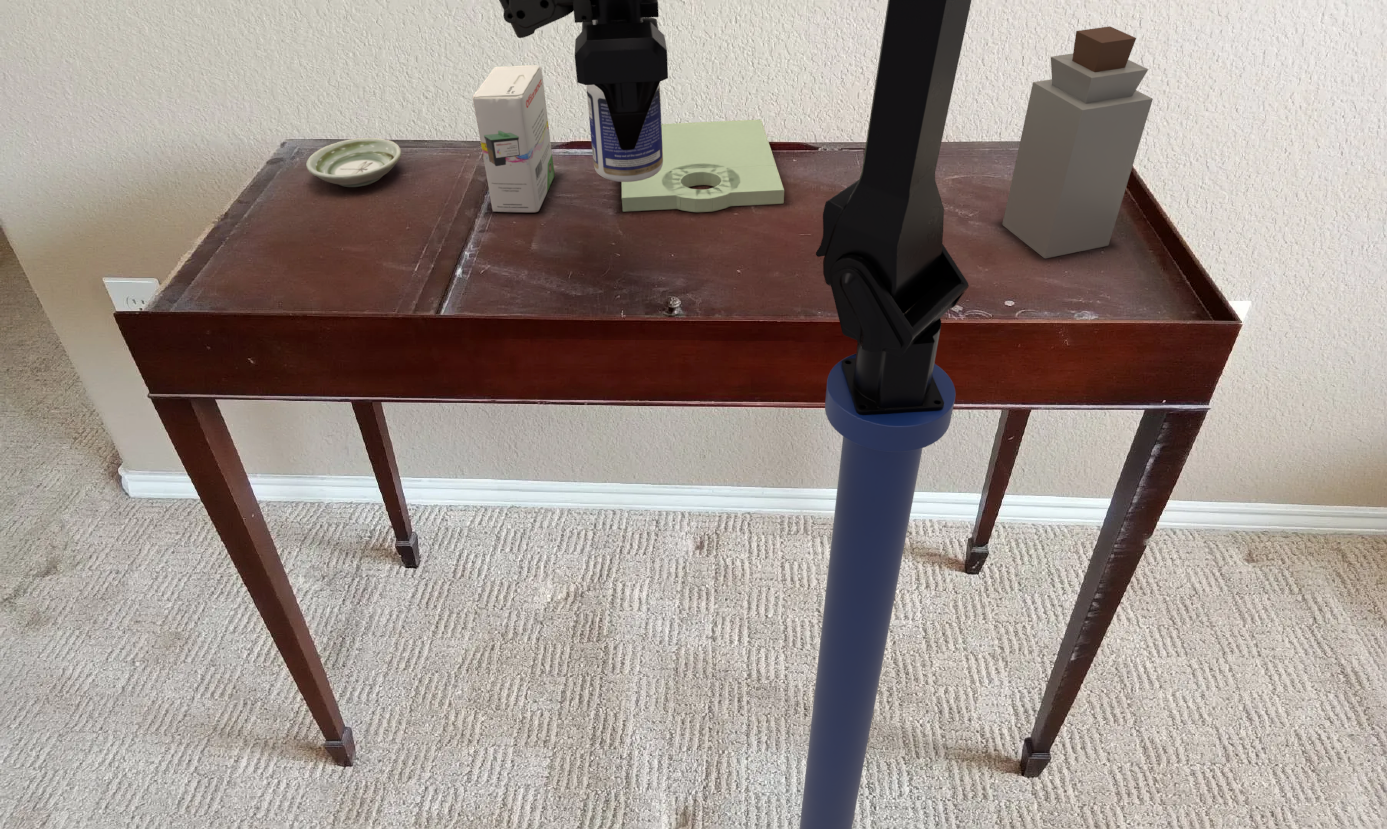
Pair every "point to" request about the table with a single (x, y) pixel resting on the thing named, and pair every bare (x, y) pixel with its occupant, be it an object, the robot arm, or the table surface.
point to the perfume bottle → (1078, 146)
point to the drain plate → (709, 169)
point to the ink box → (515, 137)
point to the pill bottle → (607, 149)
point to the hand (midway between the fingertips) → (626, 133)
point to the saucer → (354, 161)
